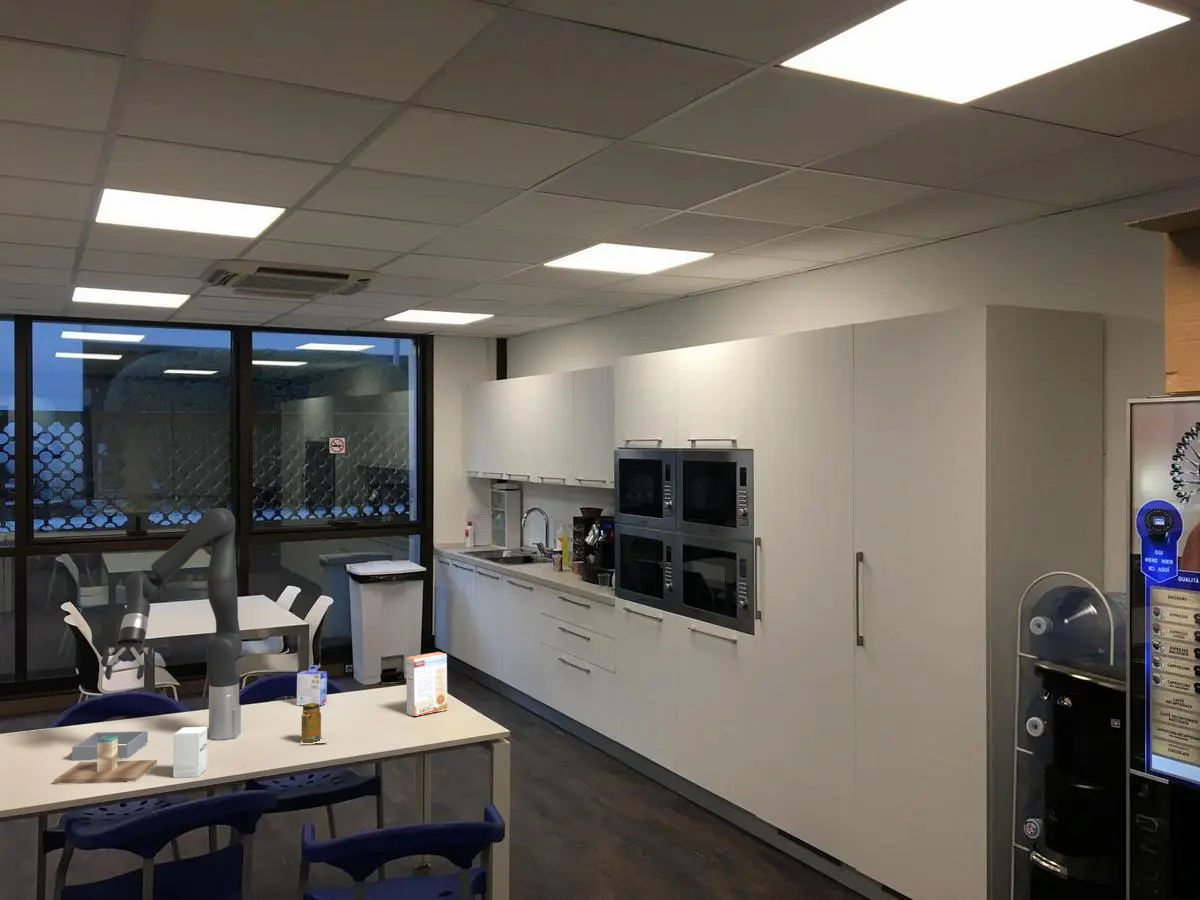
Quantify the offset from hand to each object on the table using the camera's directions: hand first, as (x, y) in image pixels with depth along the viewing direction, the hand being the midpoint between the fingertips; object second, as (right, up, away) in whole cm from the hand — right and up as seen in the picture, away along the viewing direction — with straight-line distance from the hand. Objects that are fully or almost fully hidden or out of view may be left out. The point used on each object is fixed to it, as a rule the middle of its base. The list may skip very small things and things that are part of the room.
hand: (123, 678), depth 289 cm
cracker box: (+84, -25, +50) cm, 101 cm away
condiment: (+54, -24, +15) cm, 61 cm away
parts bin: (-6, -24, +4) cm, 25 cm away
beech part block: (+4, -22, -17) cm, 28 cm away
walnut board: (+4, -23, -17) cm, 29 cm away
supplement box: (+28, -24, -17) cm, 40 cm away
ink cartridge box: (+39, -25, +62) cm, 78 cm away
